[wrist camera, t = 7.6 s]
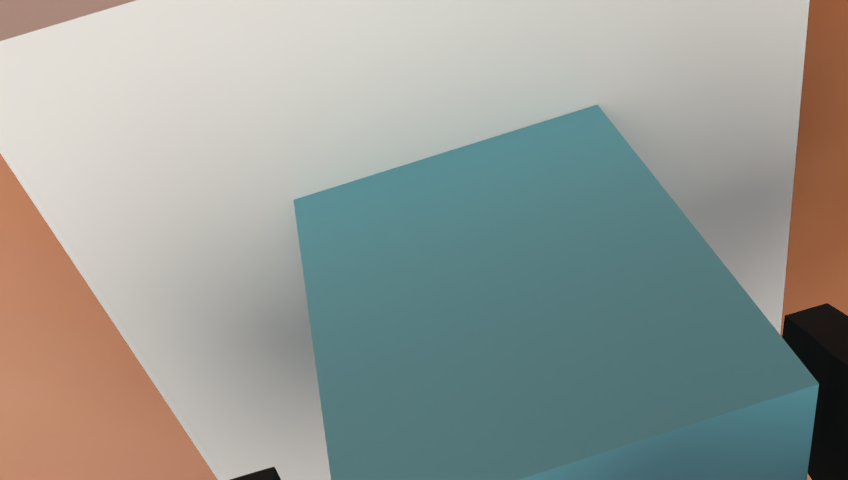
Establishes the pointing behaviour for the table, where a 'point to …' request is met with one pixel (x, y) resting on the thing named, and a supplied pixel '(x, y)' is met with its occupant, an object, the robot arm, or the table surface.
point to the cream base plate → (355, 156)
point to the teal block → (540, 323)
